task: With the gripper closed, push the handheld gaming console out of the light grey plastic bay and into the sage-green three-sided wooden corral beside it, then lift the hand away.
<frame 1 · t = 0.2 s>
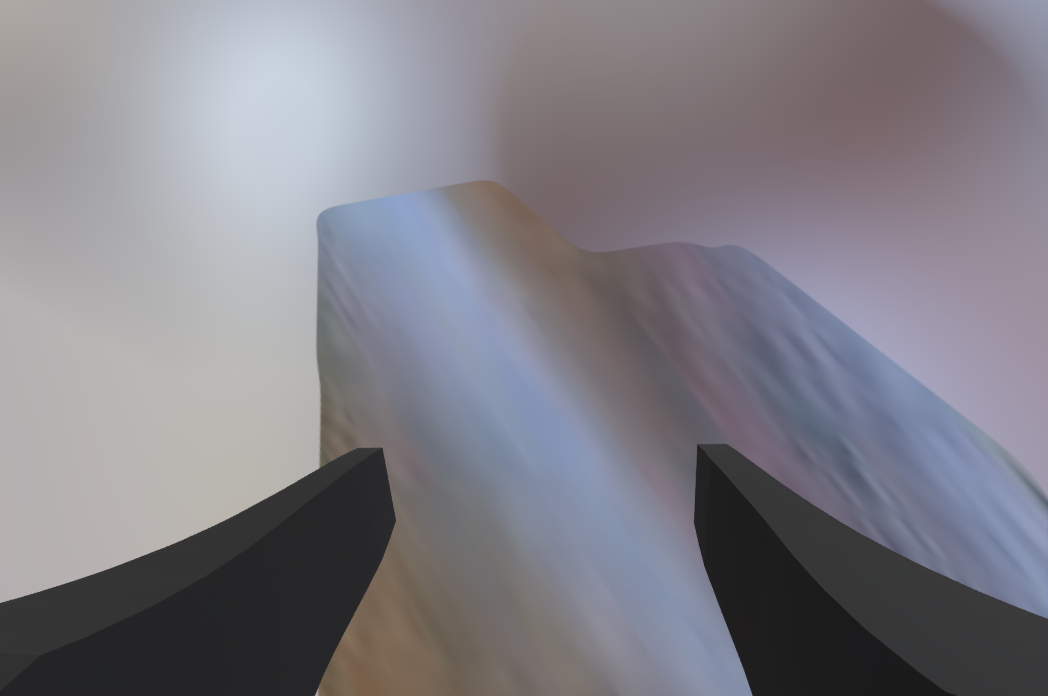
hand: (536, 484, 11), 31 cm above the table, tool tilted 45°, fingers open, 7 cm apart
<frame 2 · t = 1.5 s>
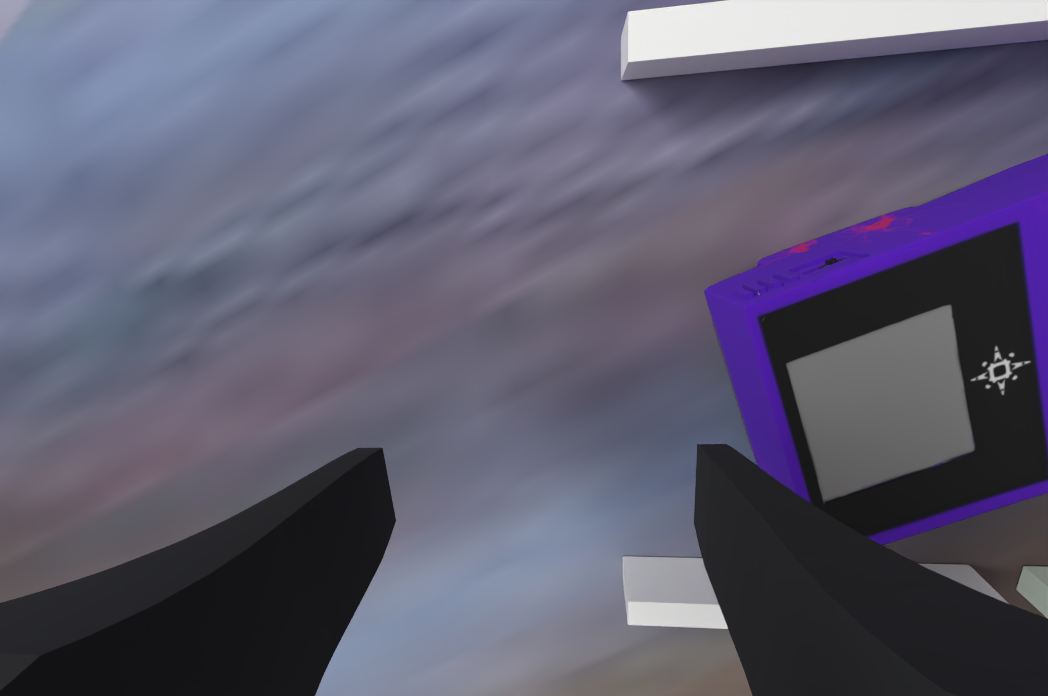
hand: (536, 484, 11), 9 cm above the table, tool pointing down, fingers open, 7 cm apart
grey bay: (815, 350, 18), on the table
handheld gaming console: (935, 318, 18), on the table
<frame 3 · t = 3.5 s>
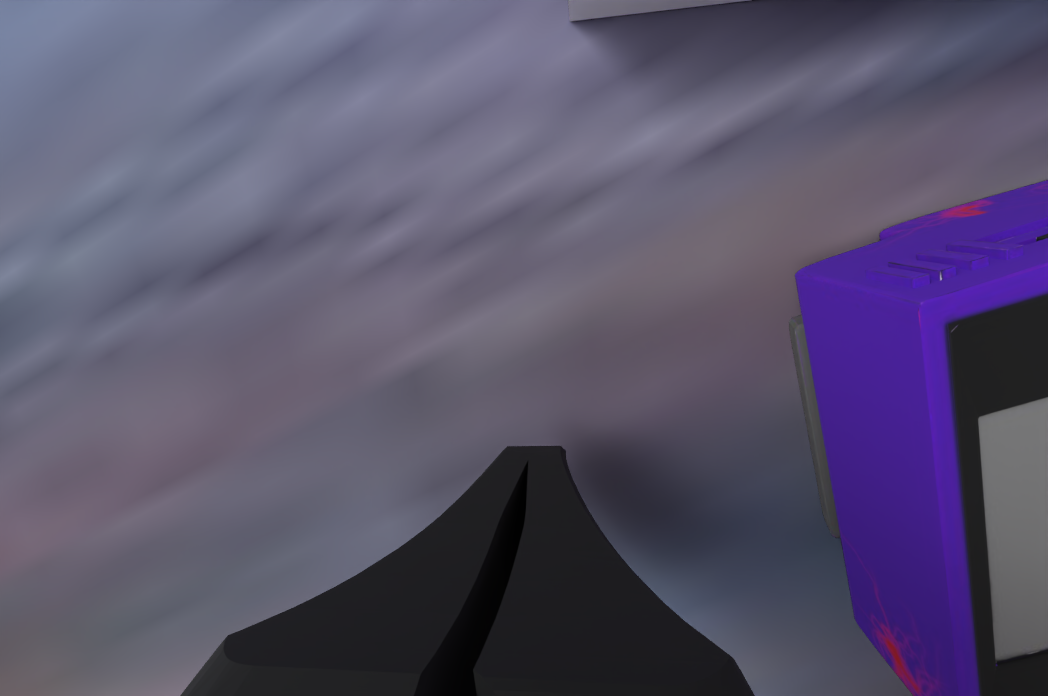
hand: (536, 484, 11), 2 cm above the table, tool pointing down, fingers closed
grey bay: (873, 438, 12), on the table
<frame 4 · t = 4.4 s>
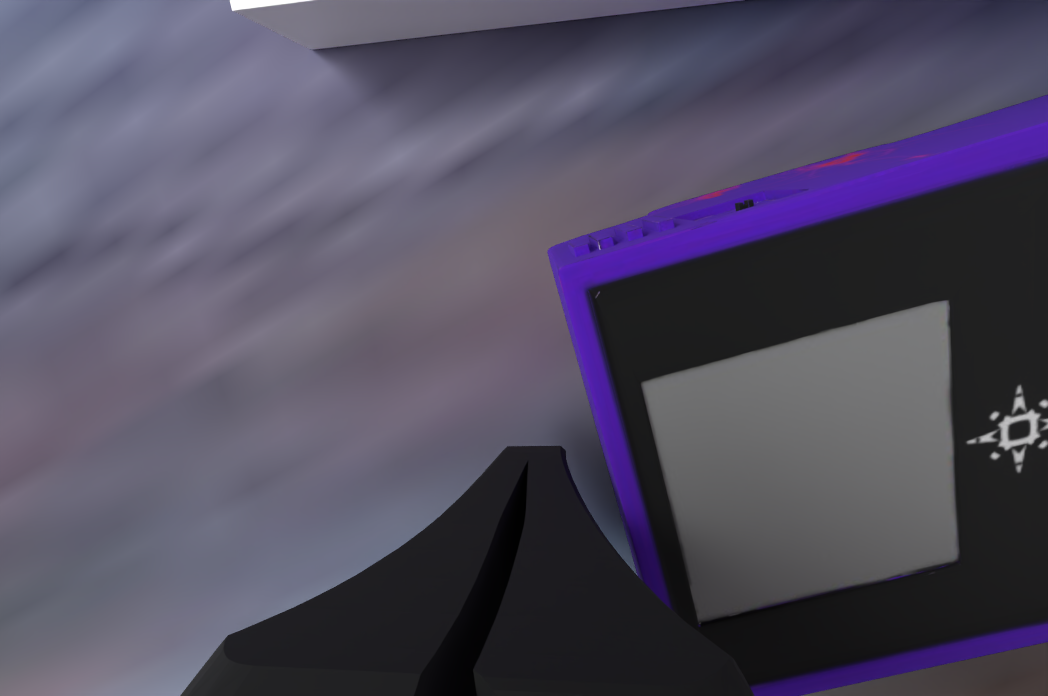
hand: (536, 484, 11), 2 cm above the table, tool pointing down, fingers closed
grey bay: (642, 440, 12), on the table
handheld gaming console: (915, 333, 11), on the table
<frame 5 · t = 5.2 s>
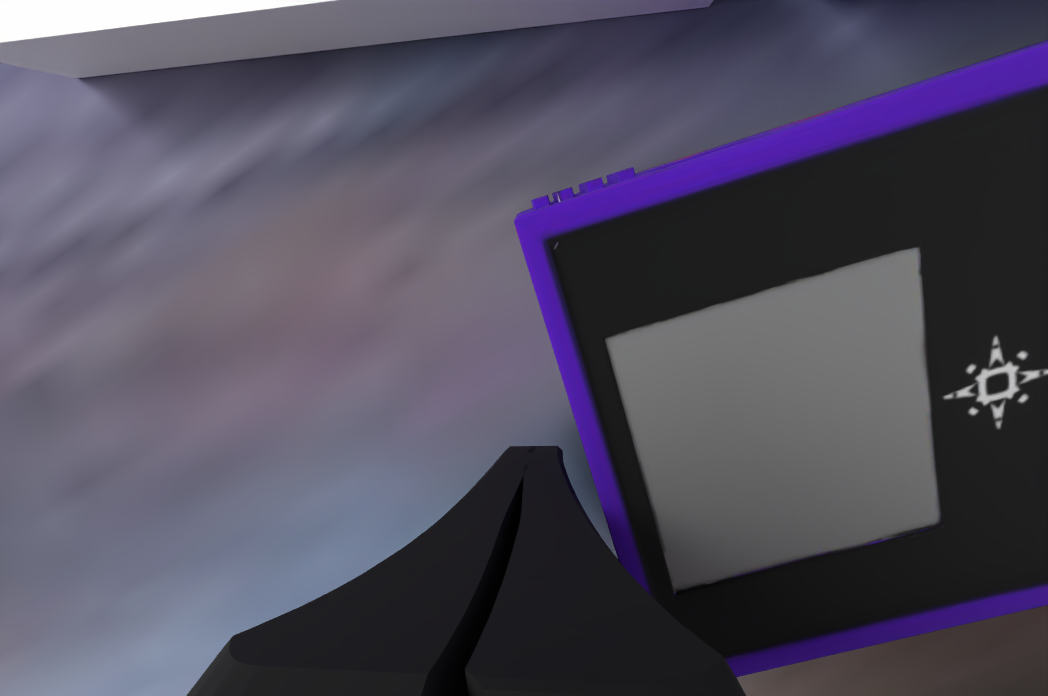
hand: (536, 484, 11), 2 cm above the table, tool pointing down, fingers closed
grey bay: (424, 443, 13), on the table
handheld gaming console: (898, 300, 11), on the table, touching gripper
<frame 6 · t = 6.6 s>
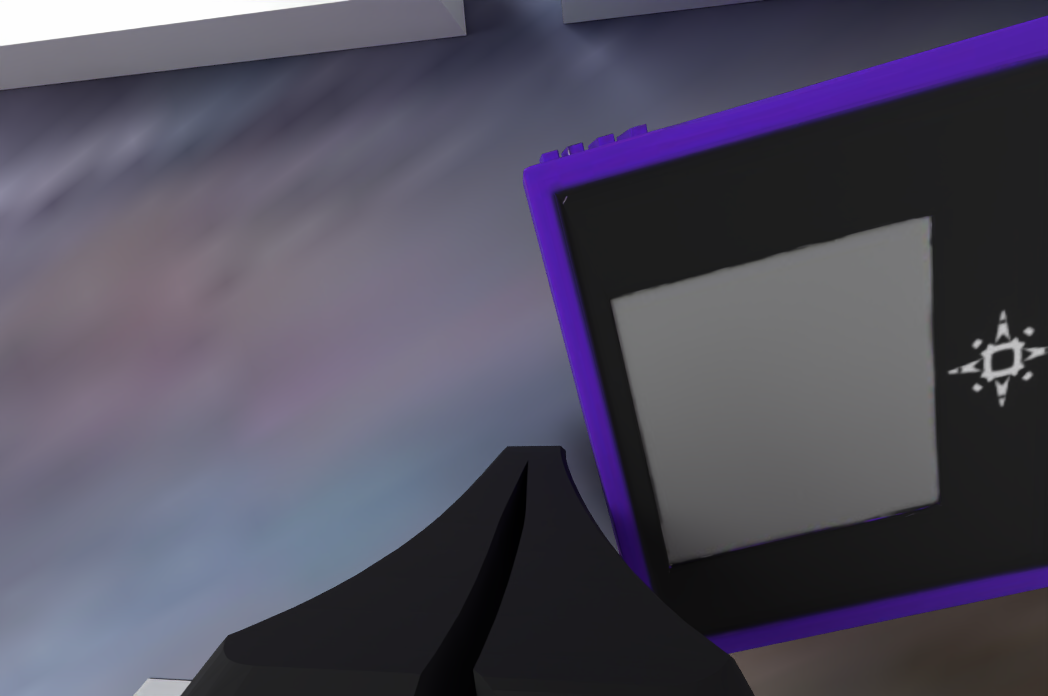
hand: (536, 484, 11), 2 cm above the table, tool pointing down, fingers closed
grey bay: (263, 445, 14), on the table
handheld gaming console: (901, 286, 11), on the table
sage corral: (958, 437, 12), on the table
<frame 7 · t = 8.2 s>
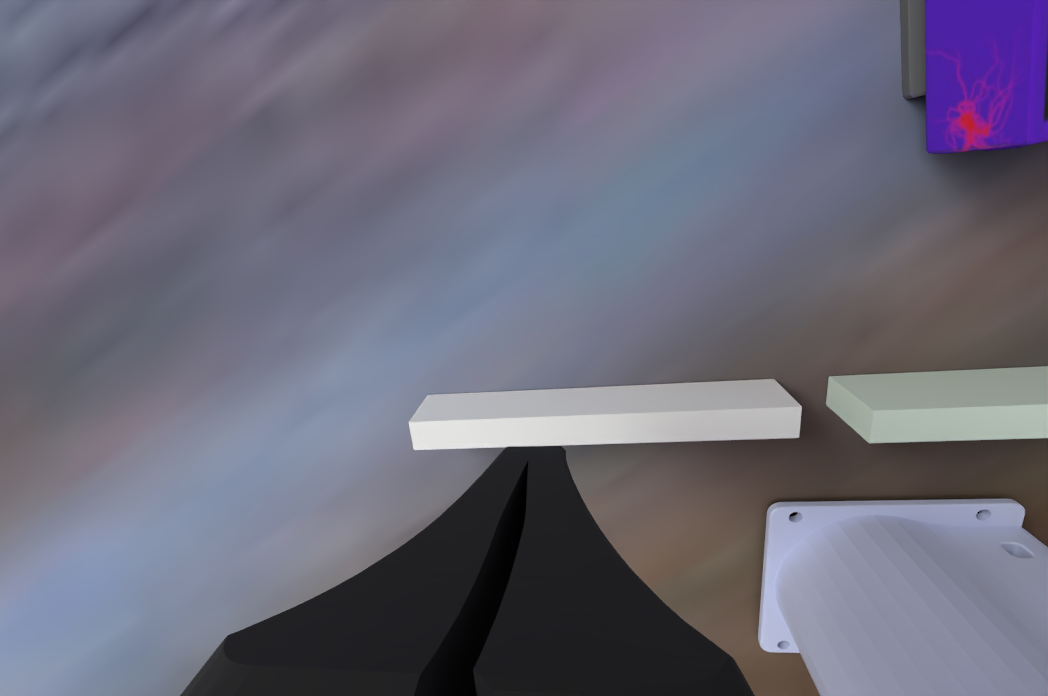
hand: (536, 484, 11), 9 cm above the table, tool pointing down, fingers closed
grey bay: (579, 135, 17), on the table
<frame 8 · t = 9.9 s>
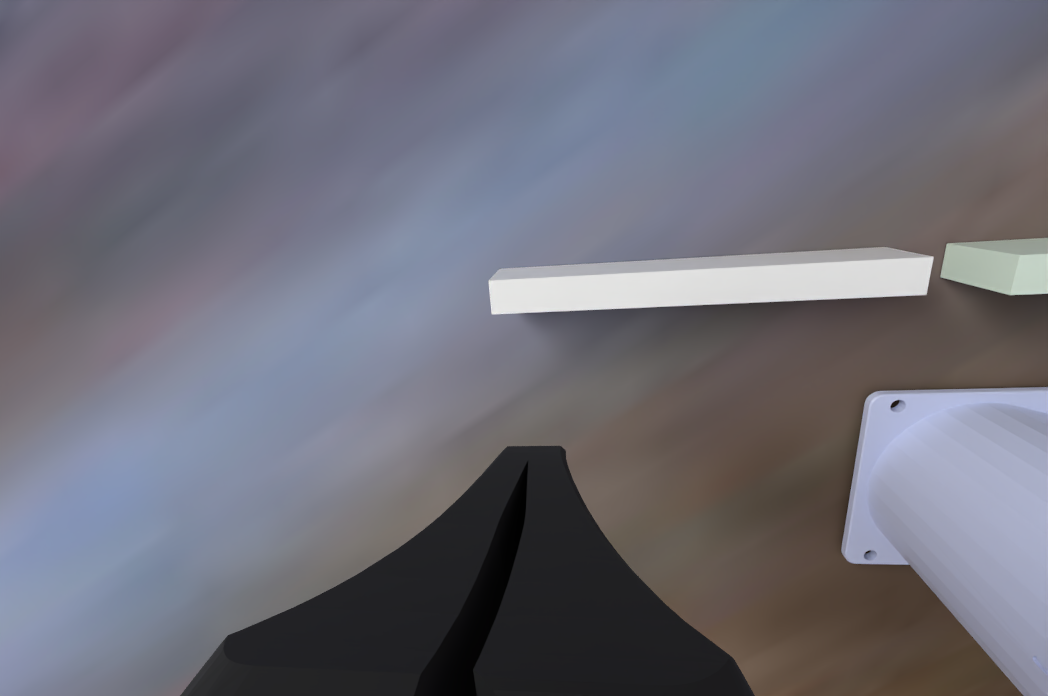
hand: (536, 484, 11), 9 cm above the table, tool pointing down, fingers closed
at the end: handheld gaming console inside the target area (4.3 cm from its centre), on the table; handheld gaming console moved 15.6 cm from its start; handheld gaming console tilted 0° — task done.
